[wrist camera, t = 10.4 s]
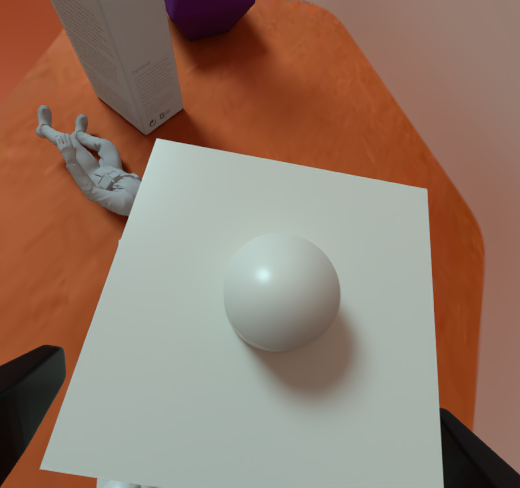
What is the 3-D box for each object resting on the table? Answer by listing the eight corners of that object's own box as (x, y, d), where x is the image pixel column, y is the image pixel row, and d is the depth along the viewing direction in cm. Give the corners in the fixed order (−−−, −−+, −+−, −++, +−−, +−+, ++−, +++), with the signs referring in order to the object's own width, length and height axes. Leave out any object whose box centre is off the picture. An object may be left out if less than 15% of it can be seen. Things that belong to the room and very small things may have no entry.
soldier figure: (121, 123, 26) (228, 171, 20) (111, 179, 27) (209, 238, 22) (7, 95, 19) (120, 157, 14) (2, 171, 21) (103, 253, 16)
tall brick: (281, 407, 15) (495, 570, 3) (184, 391, 15) (-6, 493, 3) (292, 310, 16) (454, 164, 5) (206, 294, 16) (146, 105, 5)
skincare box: (185, 108, 26) (153, -88, 15) (146, 138, 24) (76, -55, 13) (135, 69, 27) (68, -142, 16) (94, 95, 25) (-11, -116, 14)
